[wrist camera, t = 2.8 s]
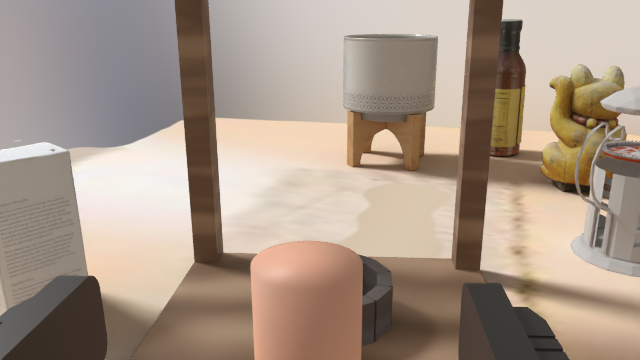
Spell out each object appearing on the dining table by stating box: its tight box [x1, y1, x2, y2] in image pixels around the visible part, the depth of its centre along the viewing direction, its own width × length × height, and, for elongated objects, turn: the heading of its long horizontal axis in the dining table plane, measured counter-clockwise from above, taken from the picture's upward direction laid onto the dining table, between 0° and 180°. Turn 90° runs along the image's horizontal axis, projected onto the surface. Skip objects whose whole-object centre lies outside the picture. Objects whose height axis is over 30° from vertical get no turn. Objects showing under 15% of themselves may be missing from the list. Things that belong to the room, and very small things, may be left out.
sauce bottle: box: [490, 19, 526, 156], centre depth 84 cm, size 7×6×20 cm
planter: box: [343, 34, 438, 171], centre depth 81 cm, size 13×13×18 cm
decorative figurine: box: [540, 64, 627, 192], centre depth 68 cm, size 10×8×15 cm
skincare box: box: [0, 142, 88, 316], centre depth 41 cm, size 6×4×12 cm
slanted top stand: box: [130, 0, 503, 360], centre depth 36 cm, size 21×26×27 cm
